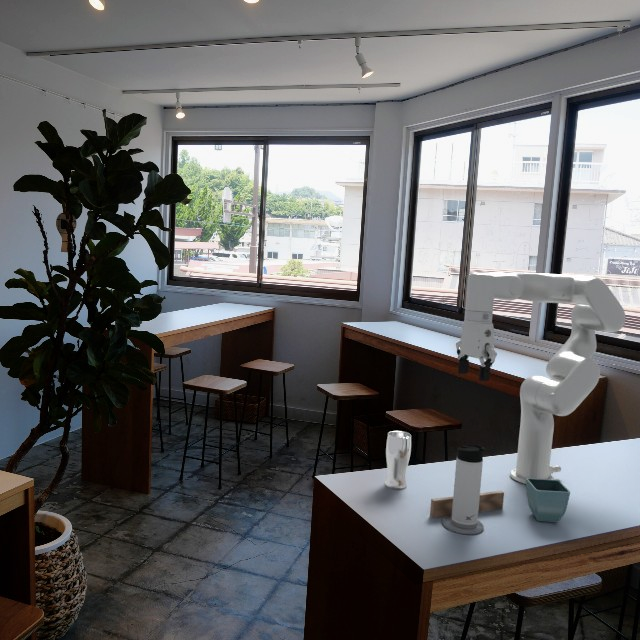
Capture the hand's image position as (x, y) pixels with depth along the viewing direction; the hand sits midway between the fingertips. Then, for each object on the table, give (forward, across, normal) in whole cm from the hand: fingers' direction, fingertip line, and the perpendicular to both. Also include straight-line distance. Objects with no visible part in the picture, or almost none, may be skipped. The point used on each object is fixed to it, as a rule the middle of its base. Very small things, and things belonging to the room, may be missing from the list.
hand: (473, 376), depth 177 cm
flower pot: (+32, -24, -8) cm, 41 cm away
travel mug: (+32, -22, +16) cm, 42 cm away
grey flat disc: (+32, -22, +16) cm, 42 cm away
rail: (+32, -16, +10) cm, 37 cm away
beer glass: (+32, +6, +19) cm, 38 cm away
